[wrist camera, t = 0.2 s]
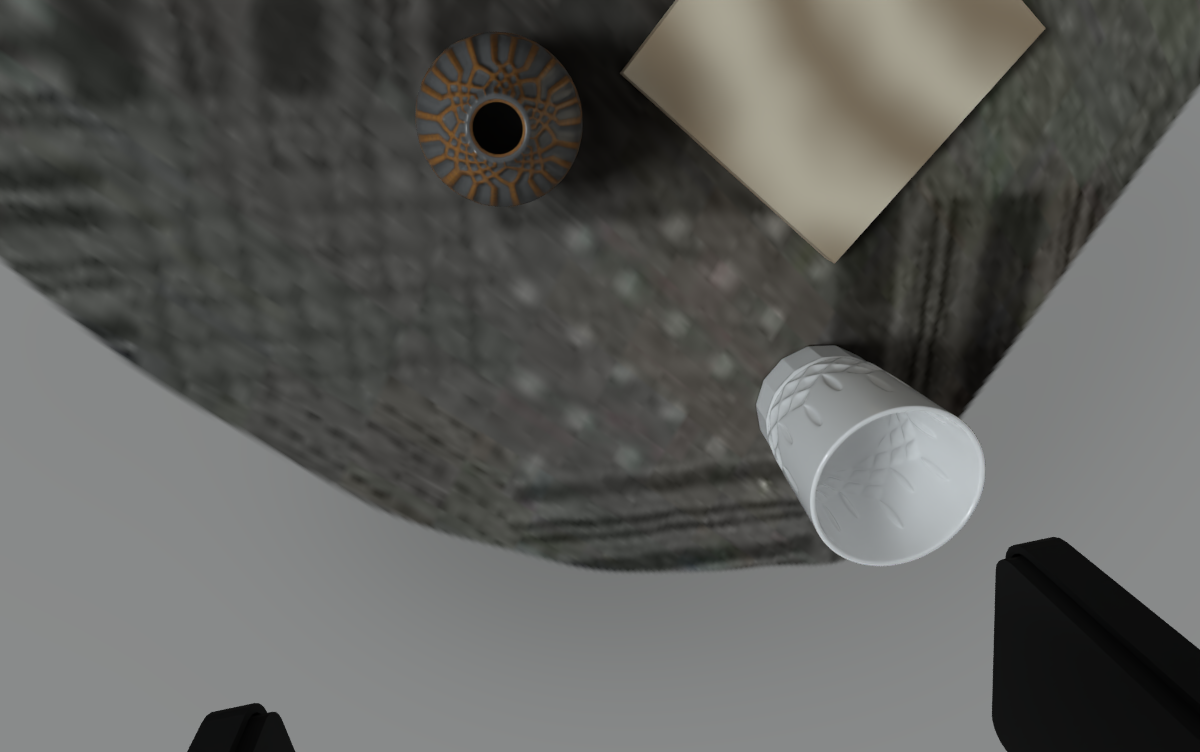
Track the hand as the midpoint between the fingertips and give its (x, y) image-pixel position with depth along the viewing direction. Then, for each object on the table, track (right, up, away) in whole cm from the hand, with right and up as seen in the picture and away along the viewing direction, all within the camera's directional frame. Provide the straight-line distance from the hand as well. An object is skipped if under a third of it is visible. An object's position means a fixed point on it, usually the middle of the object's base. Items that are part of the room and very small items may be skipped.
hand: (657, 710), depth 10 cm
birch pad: (+10, +20, +26) cm, 34 cm away
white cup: (+11, +3, +33) cm, 35 cm away
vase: (-5, +16, +26) cm, 31 cm away
